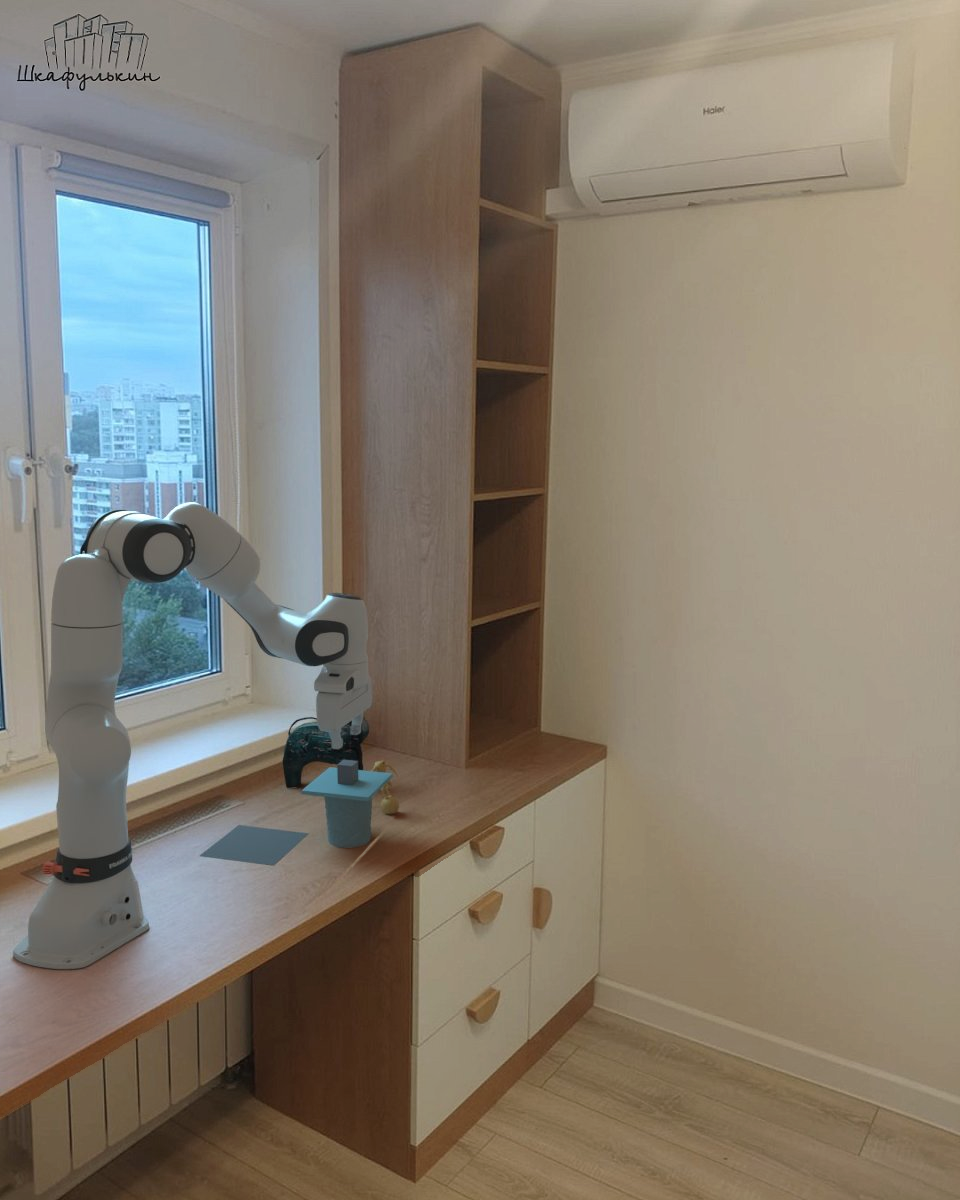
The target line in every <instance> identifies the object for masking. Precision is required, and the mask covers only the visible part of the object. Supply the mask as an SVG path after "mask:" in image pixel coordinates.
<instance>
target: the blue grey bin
mask: <svg viewBox="0 0 960 1200" xmlns="http://www.w3.org/2000/svg"><path fill="white" fill-rule="evenodd" d="M373 797H374V796H373ZM373 797H372V798H371V799H370V800H369V801H360V800H351V799H341V798H332V797H323V799H324V802H325V809H326V810H325V818H326V826H327V827H326V828H327V829H326V830H327V840H328V841H327V842H328V844H330V845H332V846H334V847H337V848H348V849H351V848H358V847H361V846H364V845H366V844H368V843H369V842H370V841H371V839H372V838H371V837H372V813H373V812H372V809H373Z"/></svg>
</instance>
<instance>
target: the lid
mask: <svg viewBox="0 0 960 1200" xmlns="http://www.w3.org/2000/svg"><path fill="white" fill-rule="evenodd" d="M393 777H394V772H393V773H391V772H385V773H384V772H377V771H374V772H373V771H371V770H364V769H363V770H358V761H353V760H342V761H341V762H340V763H339V764H337V766H336V767H331V766H329V767H328V768H327V769H326V770H324V771H323V772H321V774H320V775H319V776H317V777H316V778H314V779H313V780H312V781H311V782H310V783H309V784H307V785H306V786H305V787H304V788H303V789H301V795H305V796H306V795H307V796H313V797H314V796H317V797H323V798H324V797H332V798H341V799H351V800H360V801H369V800H370V799H371V798H372V797H374V796H376V795H377V793H378V792H379V791H381V790H382V788H383V786H384V785H385V784H386V785H387V782H388V781H389V780H390V781H391V779H392V778H393ZM372 799H373V798H372Z"/></svg>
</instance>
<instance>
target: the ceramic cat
mask: <svg viewBox="0 0 960 1200" xmlns="http://www.w3.org/2000/svg"><path fill="white" fill-rule="evenodd" d="M303 720H316V721H314V722H313V721H312V722H306V723H302V724H300V725H298V726H297V727H296V728H294V729H293V731H292V732H291V729H292V728H293V726H295V725H296V724H297V723H298V722H300V721H303ZM351 725H352V720H351V721H350V722H349V723H347V724H346V725H345V726H343V727H342V728H341V732H340V735H341V738H342V739H343V746H342V747H341V748H340V749H333V748H332V740H331V738H330V735H329V732H325V731H320V729H319V727H318V725H317V717H314V716H307V717H302V718H299V719H296V720H294V721H293V722H292V723H291V725H290V727H289V729H288V733H287V734H288V737H287V740H286V742H285V745H284V748H283V757H282V768H283V774H284V776H283V777H284V783H285V787H286V788H290V787H299V788H300V786H301V784H302V774H303V771H304V767H306V766H307V765H309V764H310V763H315V762H316V763H317V762H319V763H323V764H328V765H329V764H330V765H337V764H339V763H340V762H341V761H342V760H353V761H358V770H363V771H364V764H363V751H362V748H361V745H362V744H363V742H364V741H365V740H366V739H367V738H368V736H369V734H370V724H369V722H368V720H366V718H365V715H364V716H363V720H362V724H361V733H359V734H358V735H352V734H351V733H350V726H351Z"/></svg>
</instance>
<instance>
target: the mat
mask: <svg viewBox="0 0 960 1200" xmlns="http://www.w3.org/2000/svg"><path fill="white" fill-rule="evenodd" d="M308 835H309V833H308V832H301V831H291V830H284V829H276V828H275V829H274V828H269V827H268V828H267V827H259V826H253V825H252V826H251V825H242V824H238V825H237V826H235V827H234V828H233V829H232V830H230V831H229V832H228V833H226V834H225V835H224V836H223V837H222V838H220V839H218V840H217V841H216V842H215V843H214V844H213V845H211V846H210V847H208V848H207V849H206V850H204V852H202V853H201V854H200V855H199V857H203V858H212V859H220V860H225V861H226V860H227V861H235V862H242V863H249V864H256V865H257V864H259V865H265V866H273V867H275V865H277V864H278V863H279V861H281V860H282V859H283V858H284V857H285V856H286V855H287V854H288V853H289V852H291V850H293V849H294V848H295V847H296V846H297V845H298V844H299V843H300V842H302V840H304V838H305V837H307V836H308Z"/></svg>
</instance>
